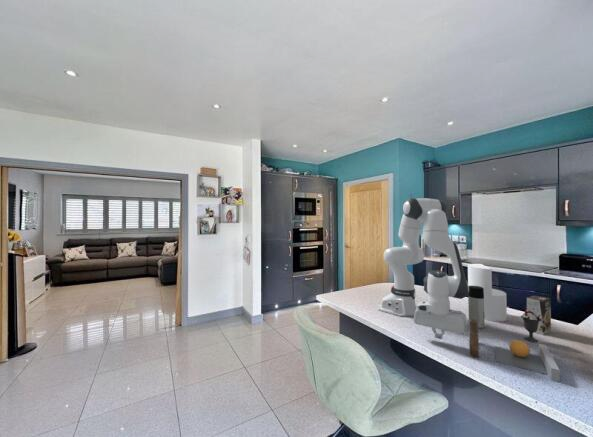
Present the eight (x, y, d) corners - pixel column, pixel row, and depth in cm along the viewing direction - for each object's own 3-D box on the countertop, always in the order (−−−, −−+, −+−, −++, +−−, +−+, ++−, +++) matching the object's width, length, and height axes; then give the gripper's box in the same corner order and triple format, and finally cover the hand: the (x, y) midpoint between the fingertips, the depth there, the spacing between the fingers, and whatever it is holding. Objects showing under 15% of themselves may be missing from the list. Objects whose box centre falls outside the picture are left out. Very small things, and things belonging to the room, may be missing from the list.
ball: (525, 342, 96) (535, 357, 95) (520, 335, 101) (530, 350, 100) (508, 347, 99) (518, 361, 97) (504, 340, 104) (513, 354, 103)
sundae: (517, 337, 115) (516, 304, 115) (530, 336, 116) (529, 304, 116) (531, 344, 109) (531, 310, 109) (545, 343, 109) (545, 309, 109)
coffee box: (544, 335, 116) (543, 301, 116) (526, 330, 122) (525, 297, 122) (551, 331, 121) (551, 298, 121) (534, 326, 126) (534, 294, 126)
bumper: (551, 379, 85) (551, 368, 85) (538, 353, 101) (538, 343, 101) (559, 381, 83) (559, 370, 83) (545, 355, 100) (545, 345, 100)
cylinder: (473, 318, 136) (472, 268, 137) (465, 308, 152) (464, 263, 153) (512, 323, 130) (511, 270, 130) (499, 311, 146) (498, 264, 146)
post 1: (470, 342, 110) (469, 322, 110) (470, 339, 113) (469, 320, 113) (478, 344, 109) (478, 324, 109) (478, 341, 111) (477, 321, 111)
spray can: (487, 328, 124) (486, 289, 124) (472, 327, 125) (471, 288, 125) (480, 323, 130) (479, 285, 131) (466, 322, 132) (465, 285, 132)
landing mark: (496, 361, 96) (496, 361, 96) (494, 346, 107) (494, 346, 107) (547, 374, 87) (547, 374, 87) (538, 356, 99) (538, 356, 99)
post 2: (469, 356, 99) (469, 334, 99) (469, 353, 102) (469, 331, 102) (478, 358, 98) (478, 336, 98) (478, 355, 100) (478, 333, 100)
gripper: (466, 310, 108) (466, 341, 108) (415, 301, 120) (415, 329, 120) (466, 314, 103) (466, 347, 103) (412, 305, 115) (413, 334, 115)
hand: (438, 338), depth 112 cm, fingers closed
